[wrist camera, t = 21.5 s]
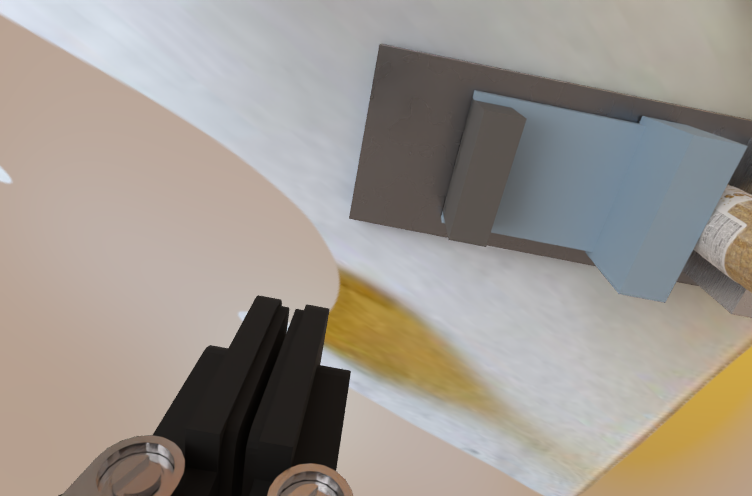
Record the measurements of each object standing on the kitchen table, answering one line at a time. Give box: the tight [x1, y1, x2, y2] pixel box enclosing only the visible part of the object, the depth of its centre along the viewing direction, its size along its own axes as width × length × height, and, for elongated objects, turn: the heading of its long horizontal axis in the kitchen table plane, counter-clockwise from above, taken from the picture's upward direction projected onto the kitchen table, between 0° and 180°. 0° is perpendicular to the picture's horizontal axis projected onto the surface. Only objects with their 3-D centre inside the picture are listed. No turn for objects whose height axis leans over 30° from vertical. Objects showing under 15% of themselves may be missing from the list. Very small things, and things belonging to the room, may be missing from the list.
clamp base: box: [349, 44, 752, 318], centre depth 31 cm, size 30×12×8 cm, turn 79°
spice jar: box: [693, 184, 752, 293], centre depth 27 cm, size 5×5×14 cm
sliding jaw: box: [441, 90, 748, 303], centre depth 30 cm, size 14×10×6 cm
